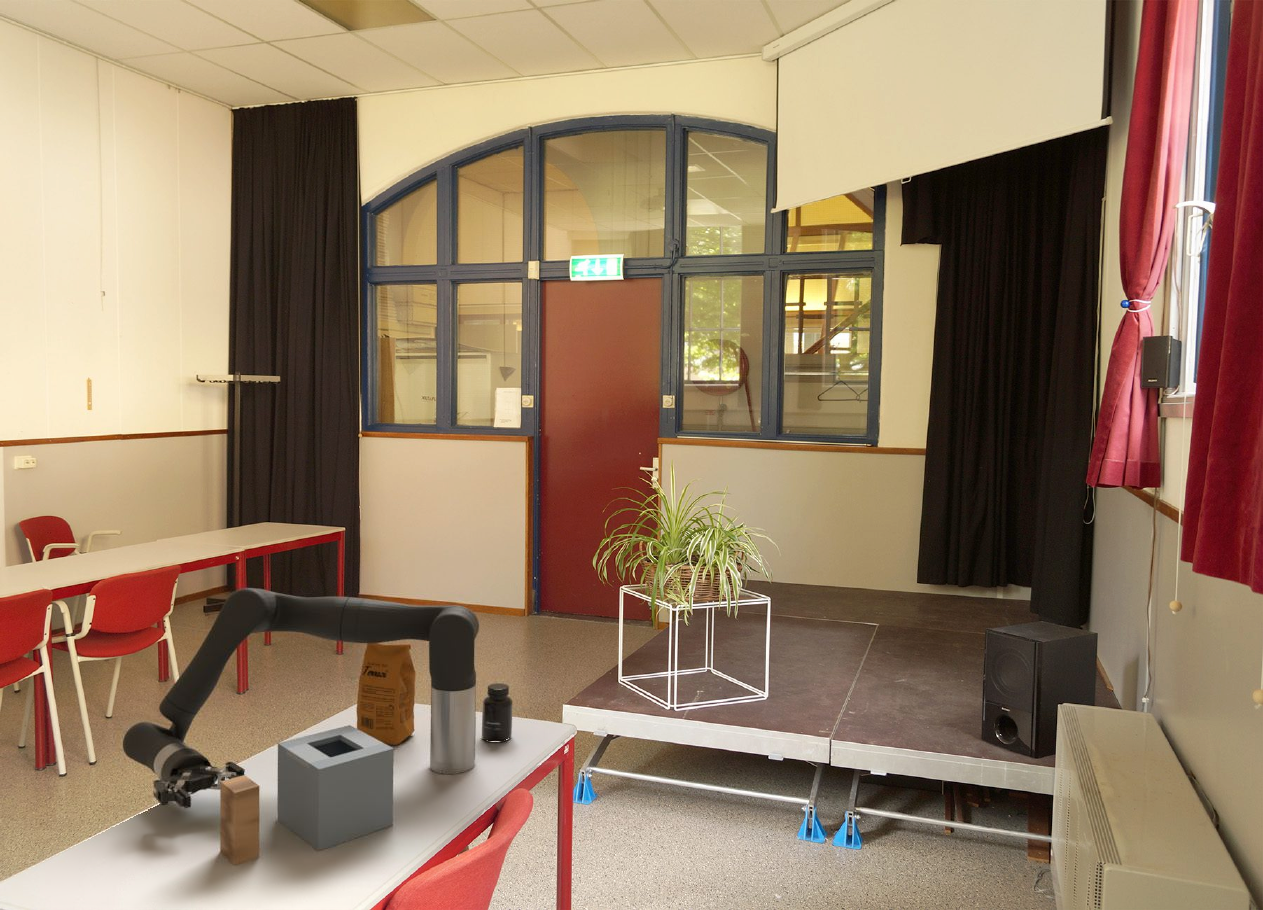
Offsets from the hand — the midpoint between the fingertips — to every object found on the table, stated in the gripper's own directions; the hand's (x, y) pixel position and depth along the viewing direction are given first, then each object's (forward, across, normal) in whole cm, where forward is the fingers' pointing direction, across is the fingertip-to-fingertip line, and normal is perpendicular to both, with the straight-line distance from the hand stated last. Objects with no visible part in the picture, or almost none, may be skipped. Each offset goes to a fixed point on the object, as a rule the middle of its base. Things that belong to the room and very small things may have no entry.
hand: (214, 795), depth 156 cm
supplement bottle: (-4, +64, +7) cm, 64 cm away
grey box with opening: (+11, +17, +6) cm, 21 cm away
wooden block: (+11, 0, +6) cm, 13 cm away
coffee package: (-21, +45, +7) cm, 50 cm away
